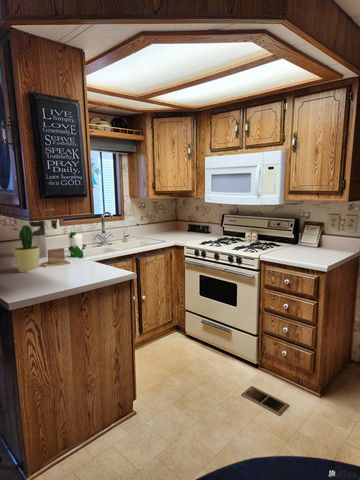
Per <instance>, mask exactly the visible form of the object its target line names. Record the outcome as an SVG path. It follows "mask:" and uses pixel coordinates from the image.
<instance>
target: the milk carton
mask: <svg viewBox="0 0 360 480" xmlns="http://www.w3.org/2000/svg"><path fill="white" fill-rule="evenodd" d="M69 233H70V234H68V240H69V251H70V252H69V255H70V258H78V259H82V258H84V252H83V251H84V249H83V235H84V234H80V233H76V231H72V232H71V231H70V232H69Z"/></svg>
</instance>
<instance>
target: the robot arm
mask: <svg viewBox="0 0 360 480" xmlns="http://www.w3.org/2000/svg"><path fill="white" fill-rule="evenodd" d="M45 222H46V220H45V221H39V222H29V221H28V223H29V224H28V225H29V227H30V228H31V227H33V228H34V227H39V228H38V229H36V230H32V232H33V233H34V234H33V233H32V235H33V238H32V245H33V246H39V247H40V251H39V259H40V258H45V257H48V251H47V239H46V227H45V226H46V225H45V224H46V223H45ZM50 222H51V228H52V229H54V230H56V229H58V218H57V219H55V220H50ZM33 242H34V243H33Z"/></svg>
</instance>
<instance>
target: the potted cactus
mask: <svg viewBox="0 0 360 480" xmlns="http://www.w3.org/2000/svg"><path fill="white" fill-rule="evenodd" d="M32 233H33V228H32V227H31V226H30V225H28V224H26V225H25V224H23V225H22V226H21V228H20V230H19V232H18V238H19V241H20V243H21V246H18V247H15V248H13V254H14V257H15V261H16V264H17V270H18V272H19V273H27V271H28V272H29V271H34V270H37V269H39V264H40V258H39V251H40V247H39V246H33V243H34V242H33V235H32ZM33 234H34V233H33Z"/></svg>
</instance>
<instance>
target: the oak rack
mask: <svg viewBox="0 0 360 480" xmlns="http://www.w3.org/2000/svg"><path fill="white" fill-rule="evenodd" d="M45 262H46V261H44V262H41V263H40V265H41V266H42V267H45V268H50V267H51V268H52V267H57V266H65V265H70V264H71V262H70V261H68V259H67V260H66V259H65V262H64V263H57V264H50V265H46V264H45Z"/></svg>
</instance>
